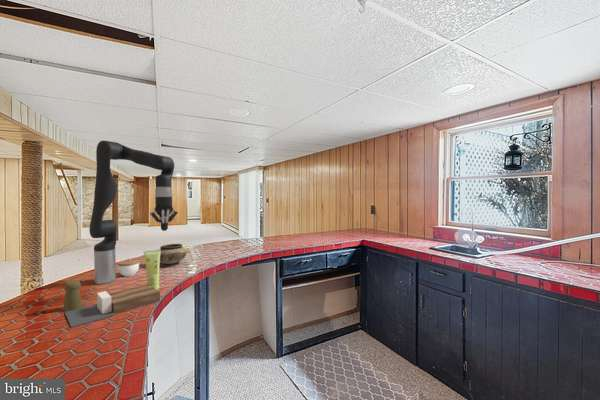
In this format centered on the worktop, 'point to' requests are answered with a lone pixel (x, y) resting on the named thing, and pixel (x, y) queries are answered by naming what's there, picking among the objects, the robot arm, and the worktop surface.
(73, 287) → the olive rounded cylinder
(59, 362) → the worktop surface
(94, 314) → the charcoal mat
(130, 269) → the lidded jar
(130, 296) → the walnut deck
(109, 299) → the ivory card box
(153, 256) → the tube
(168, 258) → the ceramic bowl
